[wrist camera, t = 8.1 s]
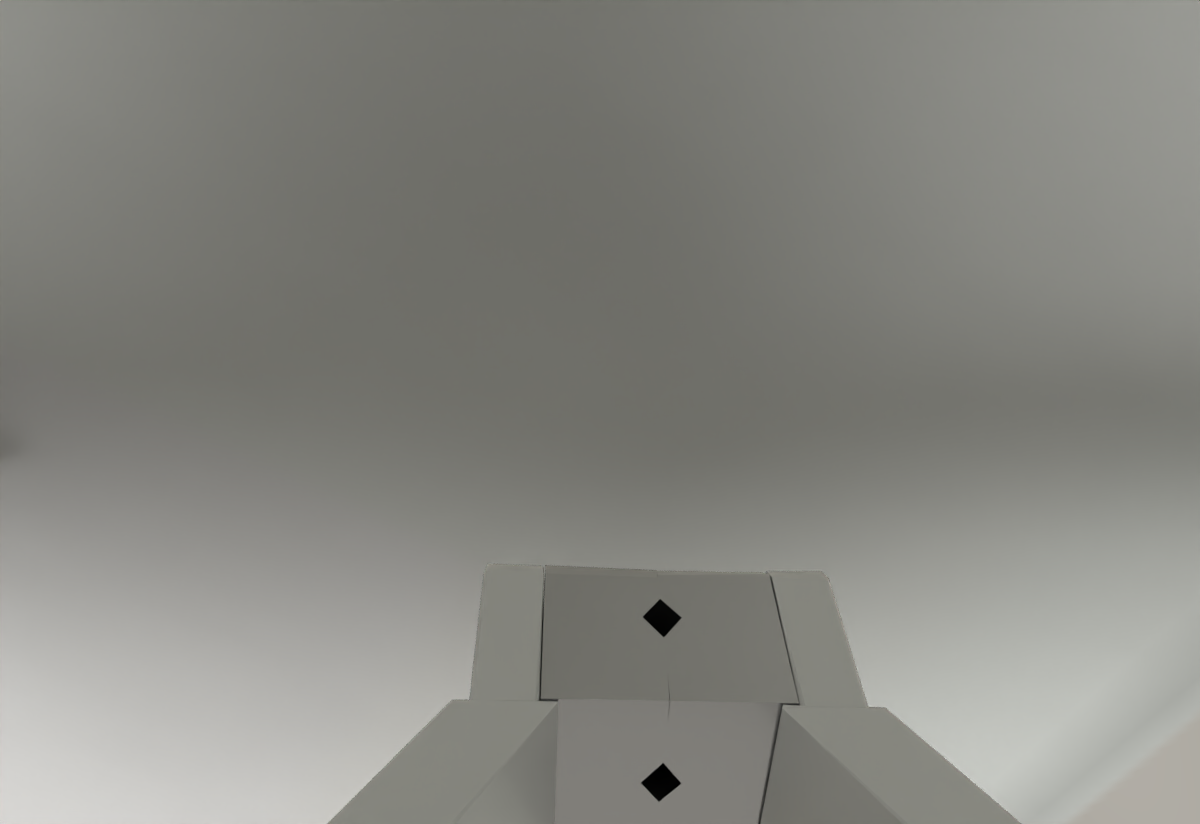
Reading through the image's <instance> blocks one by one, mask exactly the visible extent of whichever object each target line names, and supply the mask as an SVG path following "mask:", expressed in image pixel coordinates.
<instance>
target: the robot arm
mask: <svg viewBox="0 0 1200 824" xmlns="http://www.w3.org/2000/svg"><path fill="white" fill-rule="evenodd" d="M543 594H544V605H543ZM327 824H1021V823H1020V822H1019V821H1018V820H1017V819H1016V818H1014V817H1013V816H1012V815H1011V814H1010V813H1009V812H1007V811H1006V810H1005V809H1004V808H1003V807H1001V806H1000V805H999V804H998V803H997V802H996V801H994V800H993V799H992V798H991V797H990V796H989V795H987V794H986V793H985V792H984V791H983V790H982V789H980V788H979V787H978V786H977V785H976V784H975V783H973V782H972V781H971V780H970V779H969V778H967V777H966V776H965V775H964V774H963V773H962V772H960V771H959V770H958V769H957V768H956V767H955V766H953V765H952V764H951V763H950V762H949V761H948V760H946V759H945V758H944V757H943V756H942V755H941V754H939V753H938V752H937V751H936V750H935V749H934V748H932V747H931V746H930V745H929V744H928V743H926V742H925V741H924V740H923V739H922V738H921V737H919V736H918V735H917V734H916V733H915V732H914V731H912V730H911V729H910V728H909V727H908V726H907V725H905V724H904V723H903V722H902V721H901V720H900V719H898V718H897V717H896V716H895V715H894V714H892V713H891V712H890V711H889V710H888V709H887V708H881V707H868V704H867V701H866V698H865V694H864V691H863V688H862V685H861V681H860V678H859V675H858V672H857V668H856V665H855V662H854V659H853V655H852V652H851V649H850V646H849V642H848V639H847V636H846V633H845V629H844V626H843V623H842V620H841V616H840V613H839V610H838V607H837V603H836V600H835V597H834V594H833V590H832V587H831V584H830V581H829V578H828V577H827V576H826V575H825V574H824V573H823V572H822V571H766V573H763V572H715V571H657V570H641V569H619V568H597V567H575V566H553V565H545V581H544V567H542V566H536V565H511V564H487V567H486V569H485V572H484V574H483V582H482V591H481V600H480V609H479V618H478V626H477V635H476V644H475V653H474V662H473V671H472V680H471V689H470V697H469V700H451V701H450V702H449V703H448V704H447V705H446V706H445V707H444V708H443V709H442V710H441V711H440V712H439V713H438V714H437V715H436V716H435V717H434V718H433V719H432V720H431V721H430V722H429V723H428V724H427V725H426V726H425V727H424V728H423V729H422V730H421V731H420V732H419V733H418V734H417V735H416V736H415V737H414V738H413V739H412V740H411V741H410V742H409V743H408V744H407V745H406V746H405V747H404V748H403V749H402V750H401V751H400V752H399V753H398V754H397V755H396V756H395V757H394V758H393V759H392V760H391V761H390V762H389V763H388V764H387V765H386V766H385V767H384V768H383V769H382V770H381V771H380V772H379V773H378V774H377V775H376V776H375V777H374V778H373V779H372V780H371V781H370V782H369V783H368V784H367V785H366V786H365V787H364V788H363V789H362V790H361V791H360V792H359V793H358V794H357V795H356V796H355V797H354V798H353V799H352V800H351V801H350V802H349V803H348V804H347V805H346V806H345V807H344V808H343V809H342V810H341V811H340V812H339V813H338V814H337V815H336V816H335V817H334V818H333V819H332V820H331V821H329V822H328V823H327Z"/></svg>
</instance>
